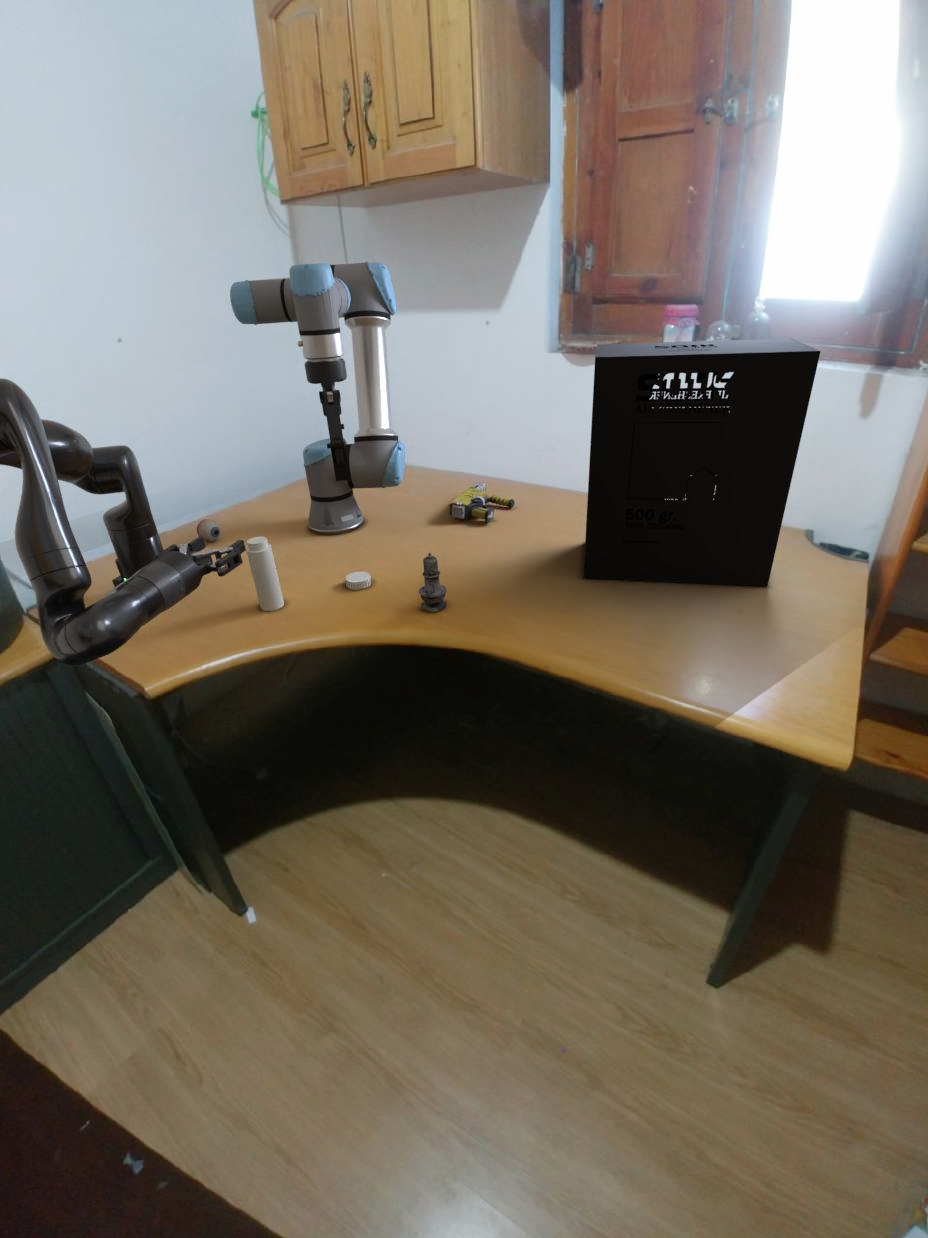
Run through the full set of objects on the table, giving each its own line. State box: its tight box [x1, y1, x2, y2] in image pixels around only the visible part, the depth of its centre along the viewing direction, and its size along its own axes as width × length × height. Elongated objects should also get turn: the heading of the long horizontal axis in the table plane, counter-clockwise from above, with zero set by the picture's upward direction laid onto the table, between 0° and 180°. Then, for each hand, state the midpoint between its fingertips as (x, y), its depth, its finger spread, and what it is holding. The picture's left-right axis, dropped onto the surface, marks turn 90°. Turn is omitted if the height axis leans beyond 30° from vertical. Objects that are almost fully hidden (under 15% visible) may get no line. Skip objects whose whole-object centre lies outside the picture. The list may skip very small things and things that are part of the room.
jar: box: [245, 536, 285, 612], centre depth 126 cm, size 5×5×15 cm
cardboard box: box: [583, 337, 821, 587], centre depth 126 cm, size 38×20×45 cm, turn 78°
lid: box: [345, 571, 372, 591], centre depth 136 cm, size 6×6×2 cm
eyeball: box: [196, 518, 222, 543], centre depth 162 cm, size 6×6×6 cm
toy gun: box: [448, 481, 515, 523], centre depth 173 cm, size 5×24×15 cm
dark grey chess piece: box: [417, 551, 448, 613], centre depth 122 cm, size 6×6×12 cm
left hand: (222, 542), depth 112 cm, fingers open, 8 cm apart
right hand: (341, 470), depth 124 cm, fingers open, 13 cm apart
